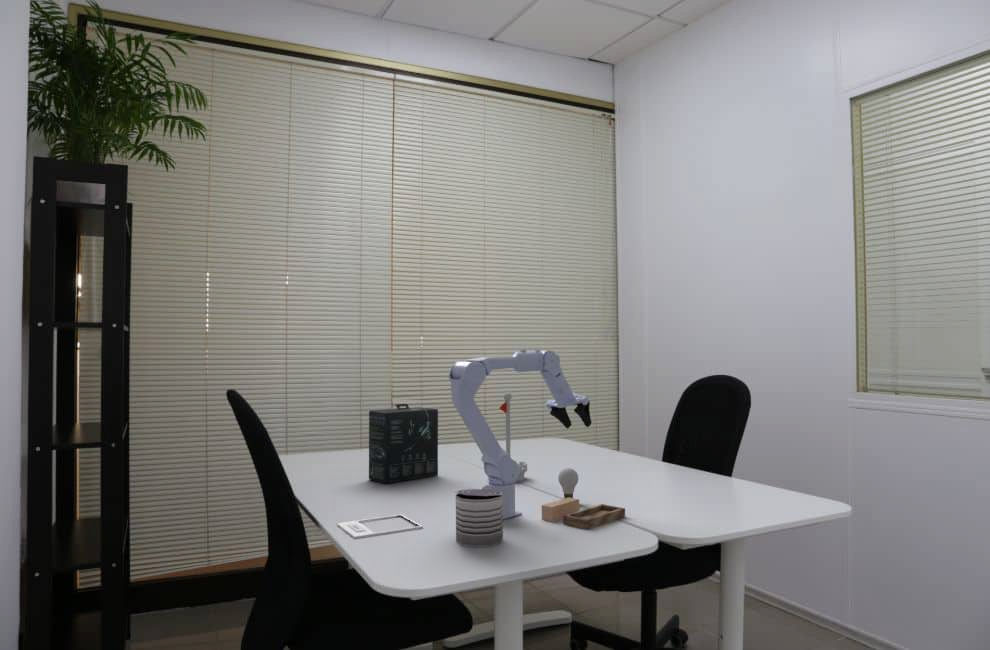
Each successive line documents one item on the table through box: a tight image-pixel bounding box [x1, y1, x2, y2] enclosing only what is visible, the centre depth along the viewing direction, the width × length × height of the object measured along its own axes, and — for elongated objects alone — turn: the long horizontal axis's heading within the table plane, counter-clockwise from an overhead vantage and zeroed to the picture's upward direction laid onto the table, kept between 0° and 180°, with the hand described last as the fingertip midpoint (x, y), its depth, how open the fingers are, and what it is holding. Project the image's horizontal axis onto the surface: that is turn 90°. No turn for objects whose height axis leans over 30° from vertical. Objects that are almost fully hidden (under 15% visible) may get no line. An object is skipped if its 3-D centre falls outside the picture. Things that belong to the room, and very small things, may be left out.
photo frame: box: [336, 513, 424, 540], centre depth 176 cm, size 15×1×18 cm
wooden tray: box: [562, 503, 626, 530], centre depth 180 cm, size 17×8×2 cm, turn 135°
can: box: [454, 488, 504, 549], centre depth 163 cm, size 11×11×12 cm
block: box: [541, 497, 580, 522], centre depth 185 cm, size 12×4×4 cm, turn 137°
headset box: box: [368, 403, 439, 484], centre depth 241 cm, size 22×12×26 cm, turn 133°
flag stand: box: [498, 391, 528, 483], centre depth 236 cm, size 13×13×30 cm
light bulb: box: [557, 467, 579, 499], centre depth 201 cm, size 6×6×10 cm
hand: (579, 425), depth 200 cm, fingers open, 7 cm apart
